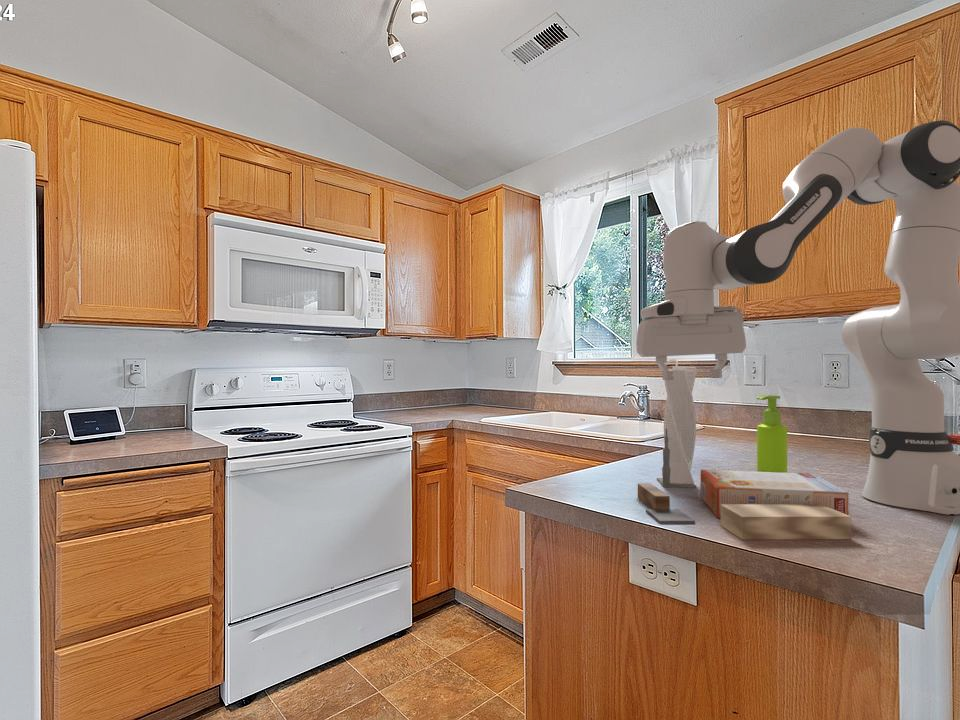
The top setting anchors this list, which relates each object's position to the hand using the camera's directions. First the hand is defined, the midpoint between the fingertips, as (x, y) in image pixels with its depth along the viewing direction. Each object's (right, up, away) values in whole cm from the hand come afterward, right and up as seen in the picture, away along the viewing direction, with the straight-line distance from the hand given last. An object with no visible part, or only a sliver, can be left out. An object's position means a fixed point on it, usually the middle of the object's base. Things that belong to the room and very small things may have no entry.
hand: (692, 379), depth 101 cm
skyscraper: (+4, -24, +17) cm, 30 cm away
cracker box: (+2, -21, -3) cm, 21 cm away
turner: (-8, -24, -4) cm, 26 cm away
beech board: (+8, -24, -17) cm, 30 cm away
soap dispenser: (+24, -24, +15) cm, 38 cm away
